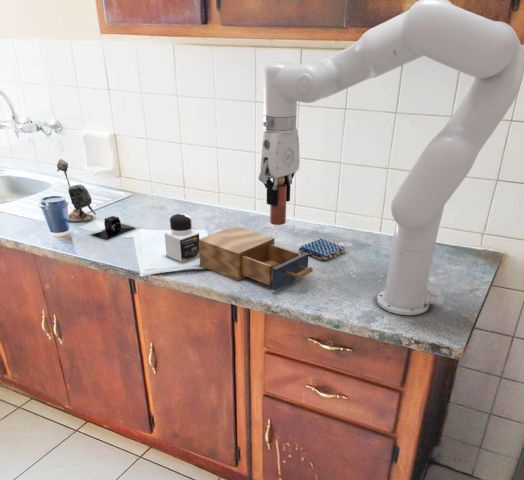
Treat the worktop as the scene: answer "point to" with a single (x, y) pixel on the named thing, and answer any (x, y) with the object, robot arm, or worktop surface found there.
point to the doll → (279, 204)
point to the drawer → (274, 265)
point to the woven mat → (322, 249)
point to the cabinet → (229, 250)
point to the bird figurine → (77, 197)
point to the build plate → (112, 228)
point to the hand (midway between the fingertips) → (278, 201)
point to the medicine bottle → (182, 239)
